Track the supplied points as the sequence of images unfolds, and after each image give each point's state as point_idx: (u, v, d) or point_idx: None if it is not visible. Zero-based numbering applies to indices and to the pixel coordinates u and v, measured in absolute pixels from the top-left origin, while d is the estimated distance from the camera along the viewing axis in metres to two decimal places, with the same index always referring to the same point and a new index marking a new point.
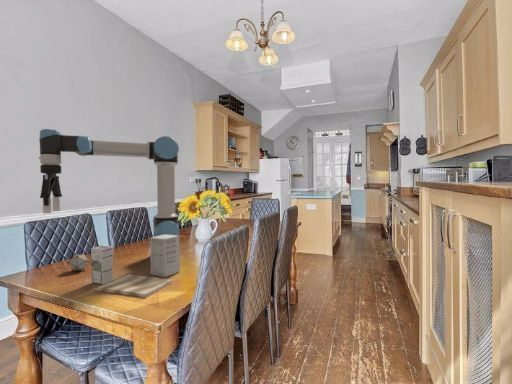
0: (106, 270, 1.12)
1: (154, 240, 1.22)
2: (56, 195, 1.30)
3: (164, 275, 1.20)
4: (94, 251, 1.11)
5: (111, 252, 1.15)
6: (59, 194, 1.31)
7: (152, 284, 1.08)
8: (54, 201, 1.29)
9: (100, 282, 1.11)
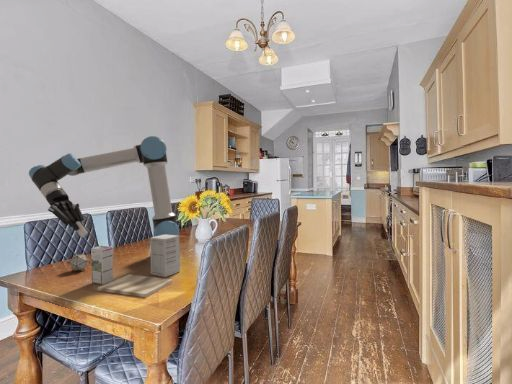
0: (106, 270, 1.12)
1: (154, 240, 1.22)
2: (76, 221, 1.19)
3: (164, 275, 1.20)
4: (94, 251, 1.11)
5: (111, 252, 1.15)
6: (78, 218, 1.19)
7: (152, 284, 1.08)
8: None
9: (100, 282, 1.11)
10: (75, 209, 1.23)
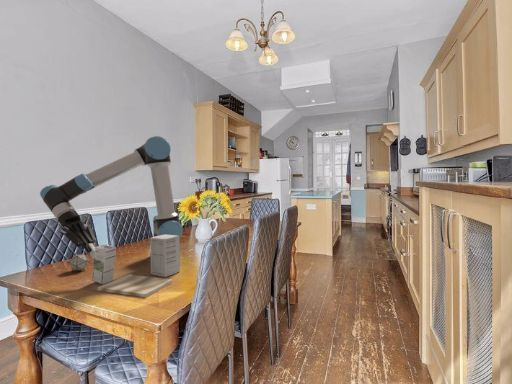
0: (107, 270, 1.12)
1: (154, 240, 1.22)
2: (89, 243, 1.16)
3: (164, 275, 1.20)
4: (98, 251, 1.10)
5: (114, 253, 1.14)
6: (90, 240, 1.16)
7: (152, 284, 1.08)
8: None
9: (100, 282, 1.11)
10: (87, 230, 1.20)
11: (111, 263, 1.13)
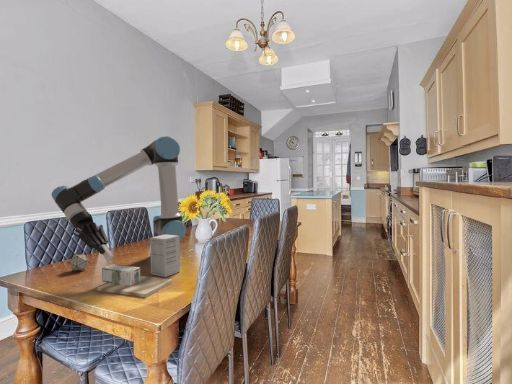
0: None
1: (154, 240, 1.22)
2: (101, 244, 1.15)
3: (164, 275, 1.20)
4: (127, 276, 1.06)
5: None
6: (103, 241, 1.15)
7: (152, 284, 1.08)
8: None
9: (103, 279, 1.10)
10: (99, 231, 1.19)
11: None
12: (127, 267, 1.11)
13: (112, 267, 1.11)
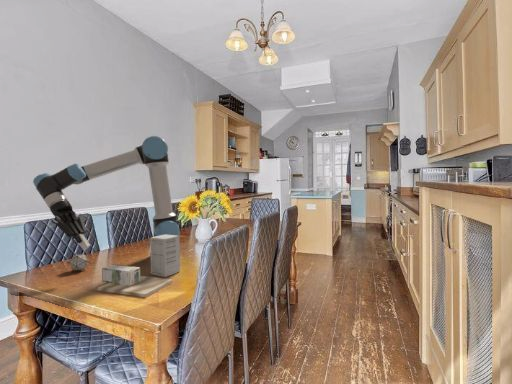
0: None
1: (155, 240, 1.22)
2: (79, 233, 1.20)
3: (164, 275, 1.20)
4: (127, 276, 1.06)
5: None
6: (81, 231, 1.20)
7: (152, 284, 1.08)
8: None
9: (103, 279, 1.10)
10: (78, 220, 1.24)
11: None
12: (127, 267, 1.11)
13: (112, 267, 1.11)
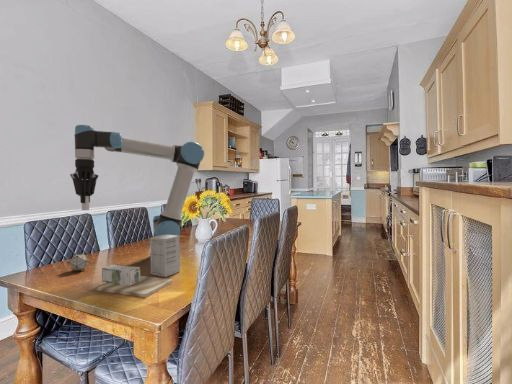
0: None
1: (154, 240, 1.22)
2: (86, 193, 1.29)
3: (164, 275, 1.20)
4: (127, 276, 1.06)
5: None
6: (89, 192, 1.29)
7: (152, 284, 1.08)
8: None
9: (103, 279, 1.10)
10: (92, 179, 1.32)
11: None
12: (127, 267, 1.11)
13: (112, 267, 1.11)
